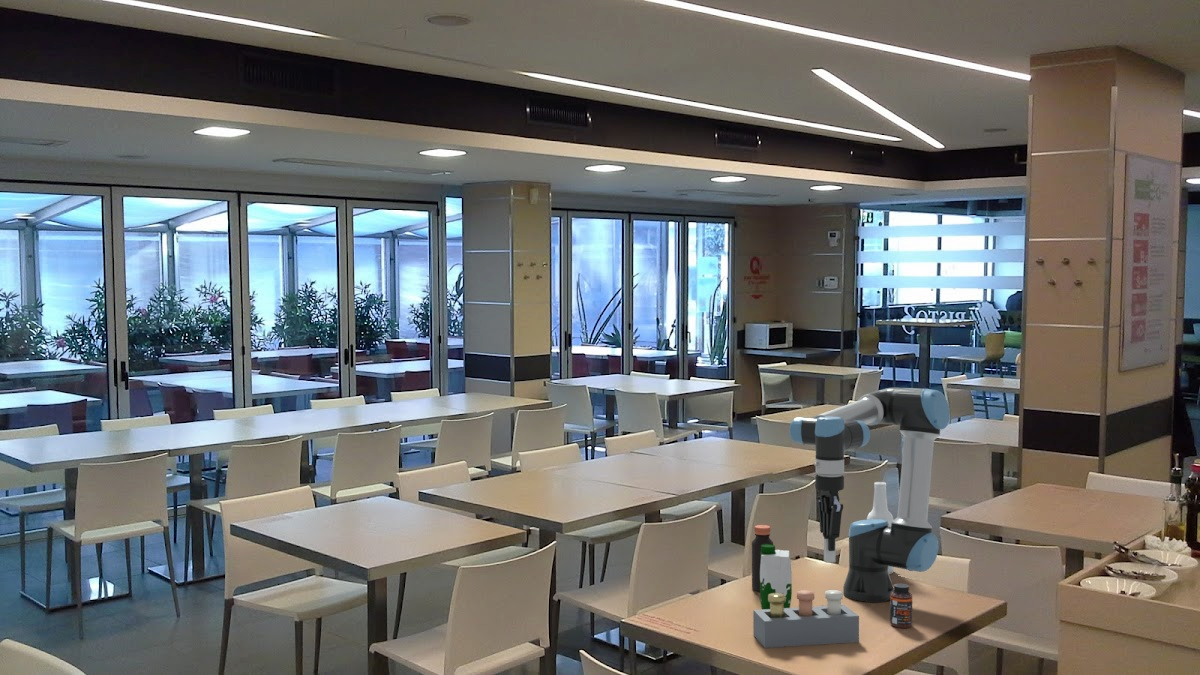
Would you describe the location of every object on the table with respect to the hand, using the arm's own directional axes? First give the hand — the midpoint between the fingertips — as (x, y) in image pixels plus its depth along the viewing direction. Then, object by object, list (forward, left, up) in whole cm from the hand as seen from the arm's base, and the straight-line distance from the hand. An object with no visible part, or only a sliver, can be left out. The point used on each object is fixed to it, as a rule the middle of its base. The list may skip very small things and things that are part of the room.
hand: (829, 561), depth 270 cm
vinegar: (+4, -47, -21) cm, 52 cm away
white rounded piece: (-1, 0, -16) cm, 16 cm away
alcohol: (-41, -60, -21) cm, 76 cm away
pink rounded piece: (+7, 0, -15) cm, 17 cm away
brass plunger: (+15, 0, -16) cm, 22 cm away
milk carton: (+8, -22, -21) cm, 31 cm away
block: (+7, 0, -21) cm, 22 cm away
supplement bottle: (-23, -6, -21) cm, 32 cm away
